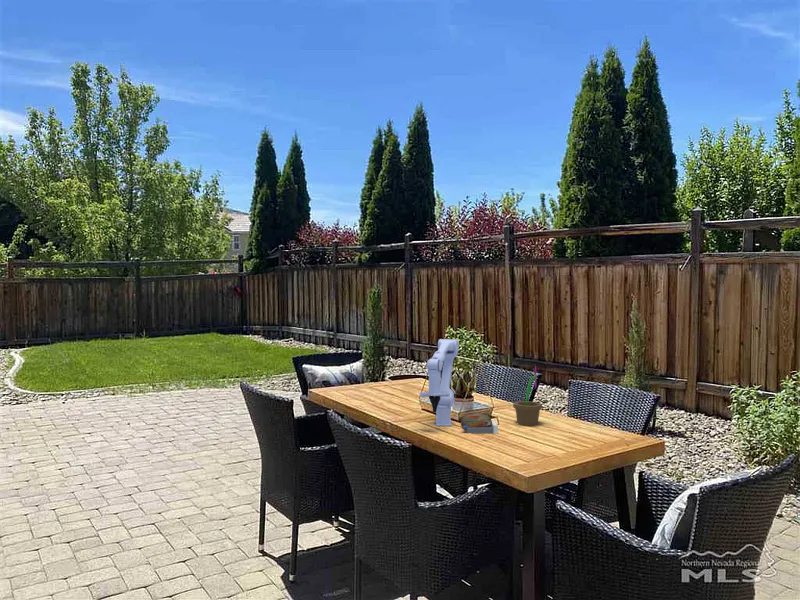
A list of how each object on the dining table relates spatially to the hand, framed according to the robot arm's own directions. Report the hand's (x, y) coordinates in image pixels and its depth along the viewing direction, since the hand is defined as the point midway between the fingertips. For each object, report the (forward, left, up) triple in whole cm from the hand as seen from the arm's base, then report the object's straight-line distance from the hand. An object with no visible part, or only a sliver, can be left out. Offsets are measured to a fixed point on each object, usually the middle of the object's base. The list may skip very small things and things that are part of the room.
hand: (434, 411), depth 285 cm
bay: (+2, +21, -9) cm, 23 cm away
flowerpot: (-13, +49, -10) cm, 52 cm away
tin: (+2, +20, -10) cm, 22 cm away
